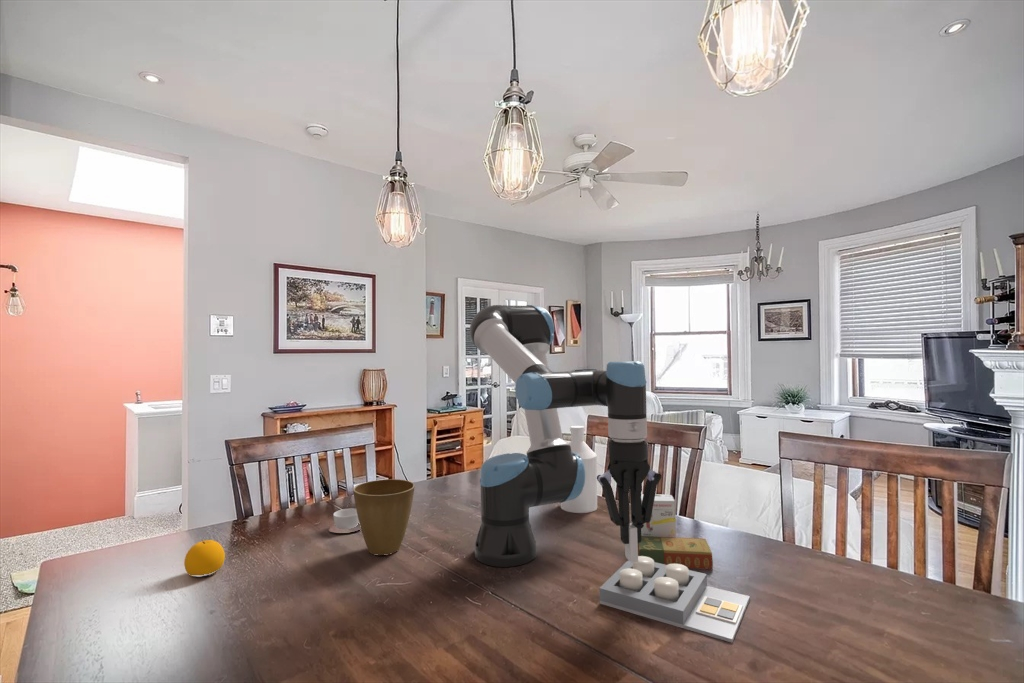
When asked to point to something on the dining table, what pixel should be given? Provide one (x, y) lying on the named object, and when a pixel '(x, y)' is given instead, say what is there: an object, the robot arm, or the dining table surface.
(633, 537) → the robot arm
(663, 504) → the ink box
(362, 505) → the plant pot
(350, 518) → the teacup
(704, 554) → the carton
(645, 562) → the button
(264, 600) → the dining table surface
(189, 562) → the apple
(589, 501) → the bottle
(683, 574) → the button
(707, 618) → the keypad board
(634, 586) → the button
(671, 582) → the button
